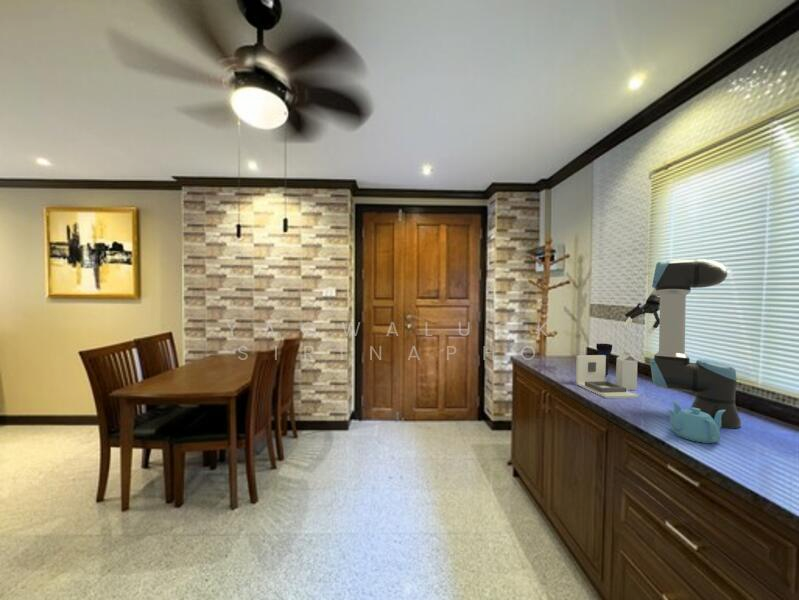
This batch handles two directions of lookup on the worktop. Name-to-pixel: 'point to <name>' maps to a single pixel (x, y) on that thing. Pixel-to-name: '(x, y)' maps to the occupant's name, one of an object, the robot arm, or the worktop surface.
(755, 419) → the worktop surface
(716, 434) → the teapot
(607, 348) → the flashlight
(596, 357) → the dock
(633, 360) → the milk carton
